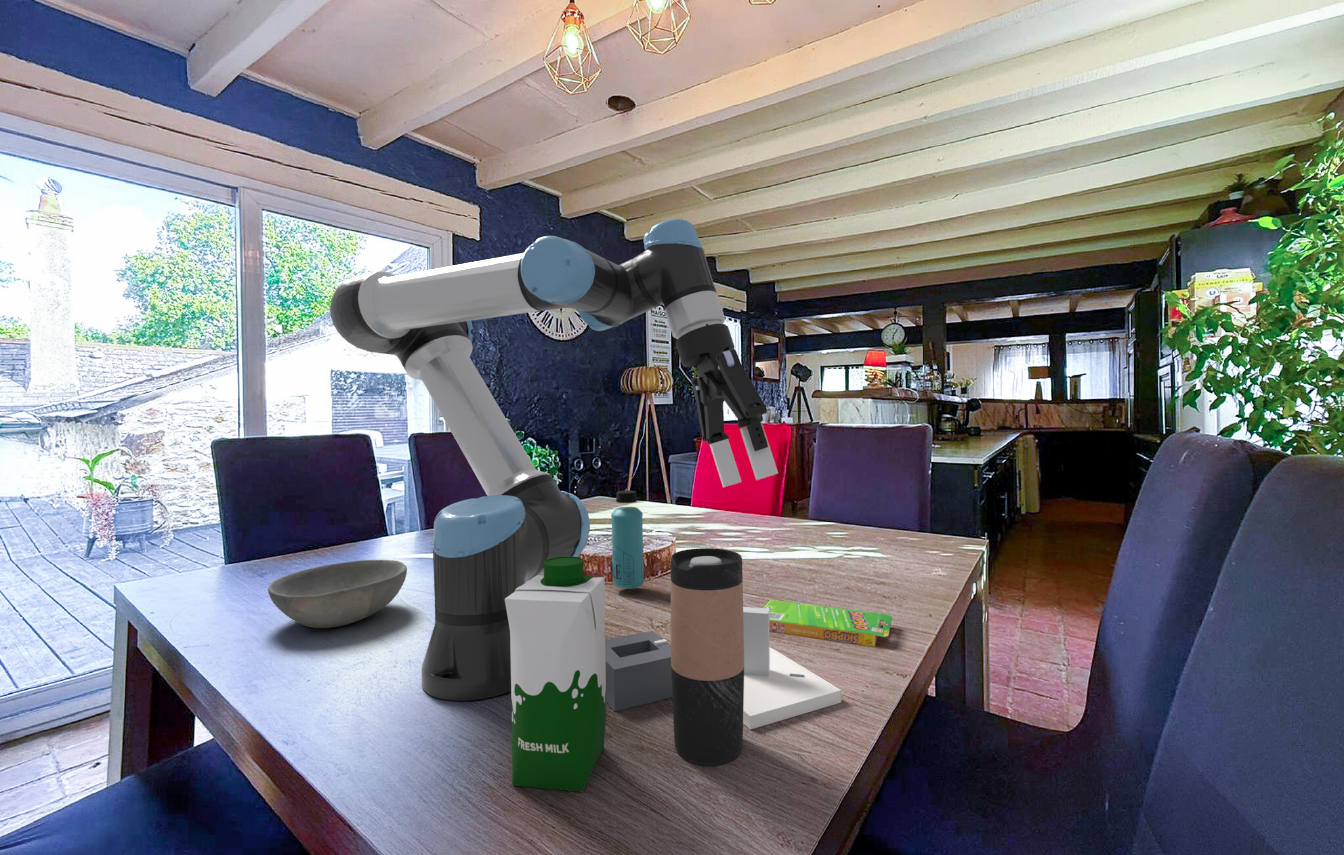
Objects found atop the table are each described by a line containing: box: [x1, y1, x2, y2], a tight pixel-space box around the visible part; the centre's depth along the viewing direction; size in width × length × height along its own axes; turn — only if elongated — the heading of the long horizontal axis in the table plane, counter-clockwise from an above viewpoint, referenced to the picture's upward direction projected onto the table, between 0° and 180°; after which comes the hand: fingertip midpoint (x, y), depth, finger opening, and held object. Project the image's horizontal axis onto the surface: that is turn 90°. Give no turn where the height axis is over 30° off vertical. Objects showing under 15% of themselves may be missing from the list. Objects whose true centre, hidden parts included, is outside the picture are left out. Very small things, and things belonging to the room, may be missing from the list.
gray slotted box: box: [605, 630, 672, 713], centre depth 73 cm, size 9×9×5 cm
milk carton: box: [505, 556, 607, 793], centre depth 57 cm, size 9×9×20 cm
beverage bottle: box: [610, 490, 646, 589], centre depth 113 cm, size 6×7×20 cm
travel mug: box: [670, 547, 744, 767], centre depth 60 cm, size 8×8×20 cm
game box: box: [763, 599, 893, 648], centre depth 93 cm, size 3×10×20 cm
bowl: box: [267, 559, 408, 629], centre depth 100 cm, size 21×21×8 cm
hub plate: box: [743, 606, 842, 730], centre depth 74 cm, size 13×18×10 cm
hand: (748, 481), depth 76 cm, fingers open, 13 cm apart
